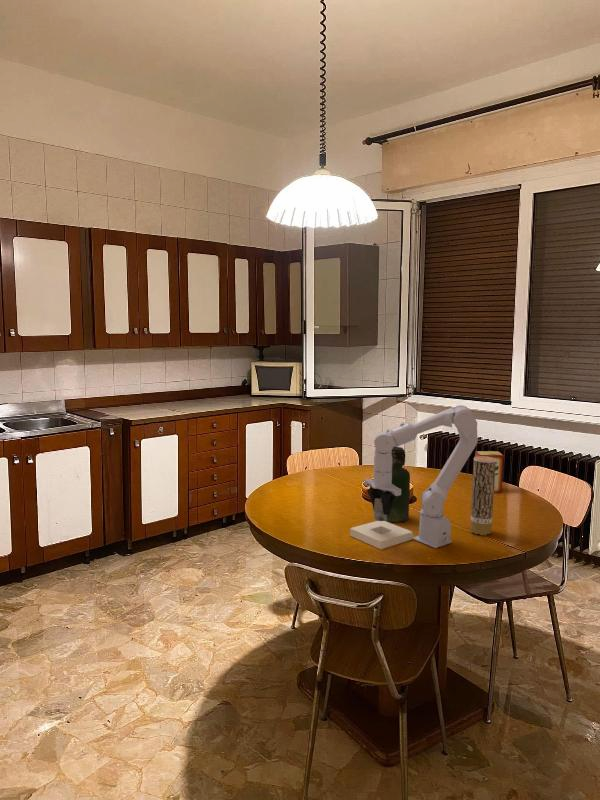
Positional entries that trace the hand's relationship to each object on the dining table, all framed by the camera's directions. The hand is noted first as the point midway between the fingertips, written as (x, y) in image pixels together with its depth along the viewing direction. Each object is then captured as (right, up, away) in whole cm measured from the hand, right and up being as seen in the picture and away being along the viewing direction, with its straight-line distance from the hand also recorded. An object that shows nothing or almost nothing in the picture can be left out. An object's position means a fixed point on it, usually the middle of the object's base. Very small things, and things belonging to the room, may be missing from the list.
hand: (381, 512), depth 193 cm
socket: (0, -8, +1) cm, 8 cm away
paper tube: (+34, -8, +6) cm, 35 cm away
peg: (0, -2, 0) cm, 2 cm away
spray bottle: (+7, -6, +20) cm, 22 cm away
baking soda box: (+50, -1, +54) cm, 74 cm away
